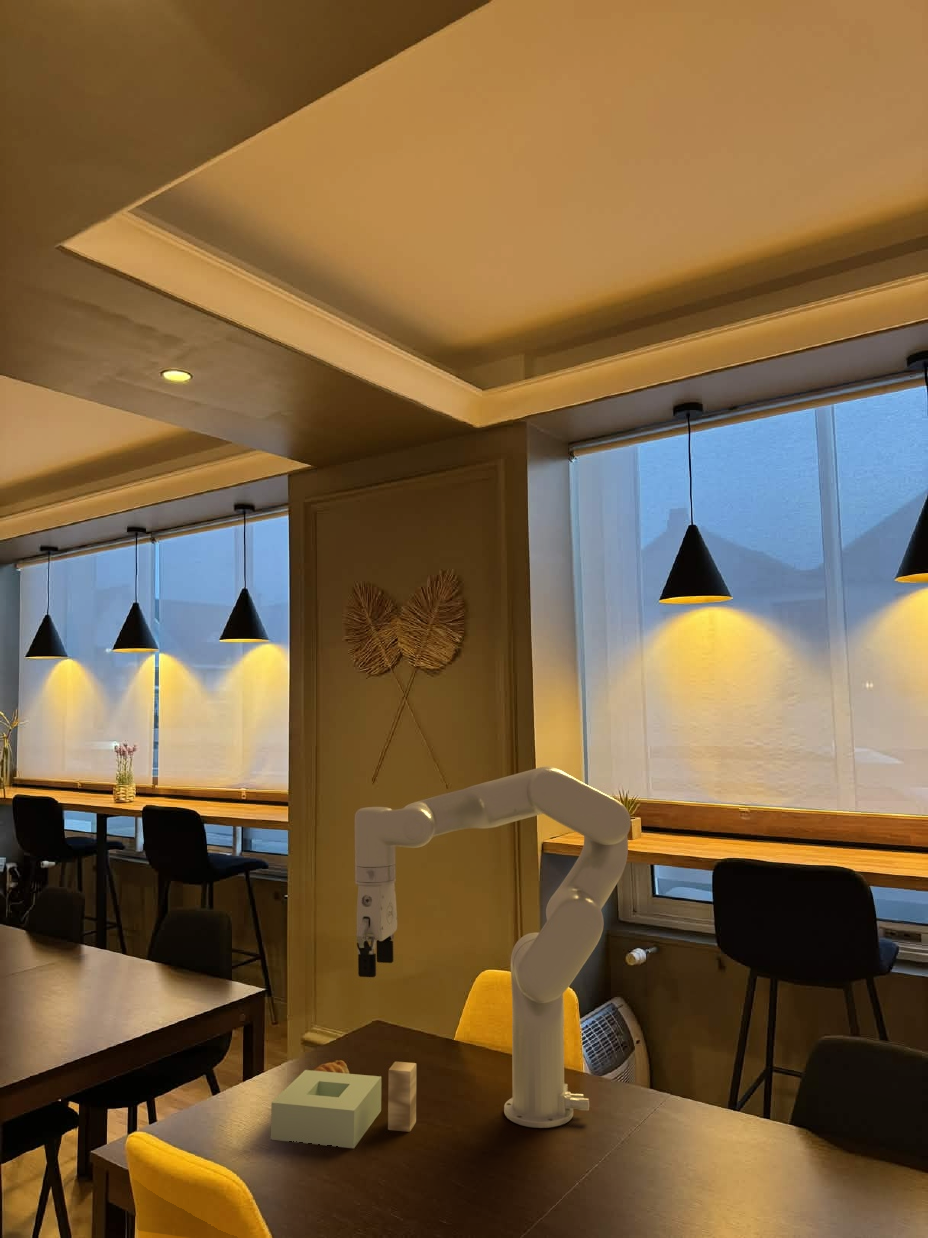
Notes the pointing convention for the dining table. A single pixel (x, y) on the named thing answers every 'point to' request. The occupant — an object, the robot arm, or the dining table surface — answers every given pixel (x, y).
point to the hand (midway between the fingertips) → (376, 969)
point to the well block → (326, 1108)
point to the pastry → (333, 1067)
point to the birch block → (402, 1096)
